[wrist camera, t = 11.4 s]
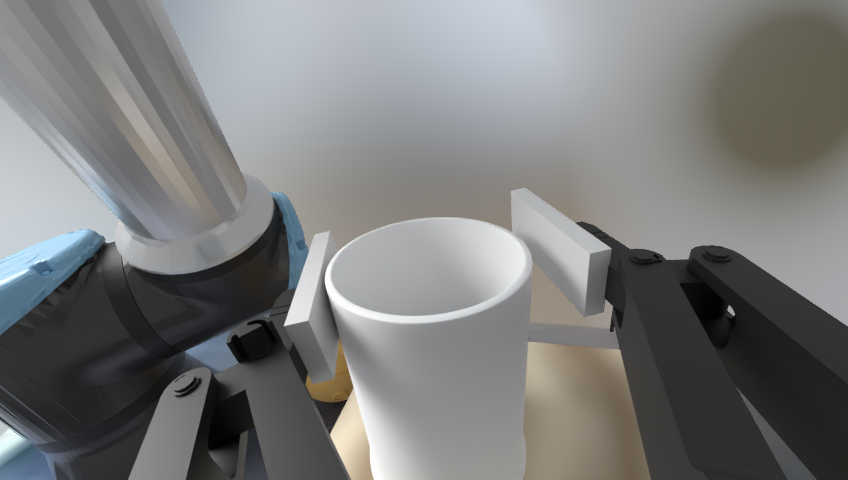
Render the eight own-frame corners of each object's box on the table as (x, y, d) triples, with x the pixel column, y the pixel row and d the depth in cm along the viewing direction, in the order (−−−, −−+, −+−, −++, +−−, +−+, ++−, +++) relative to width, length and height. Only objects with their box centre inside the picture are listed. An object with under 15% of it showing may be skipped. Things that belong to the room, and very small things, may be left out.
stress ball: (367, 348, 43) (295, 322, 40) (401, 309, 38) (321, 276, 35) (351, 427, 36) (260, 403, 33) (391, 393, 30) (286, 360, 27)
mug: (482, 335, 25) (478, 187, 20) (590, 410, 19) (627, 222, 14) (344, 434, 19) (287, 258, 14) (437, 594, 13) (397, 381, 7)
